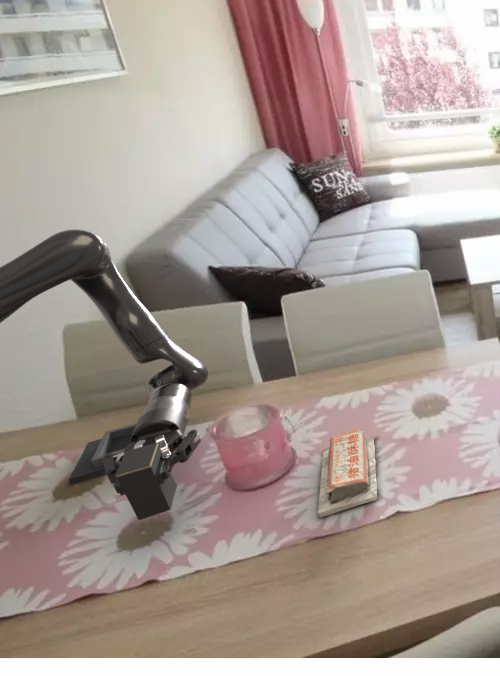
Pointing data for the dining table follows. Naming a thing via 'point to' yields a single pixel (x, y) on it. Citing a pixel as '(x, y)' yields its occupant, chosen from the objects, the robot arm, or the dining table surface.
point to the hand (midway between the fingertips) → (141, 484)
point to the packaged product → (347, 473)
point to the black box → (145, 481)
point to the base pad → (101, 453)
